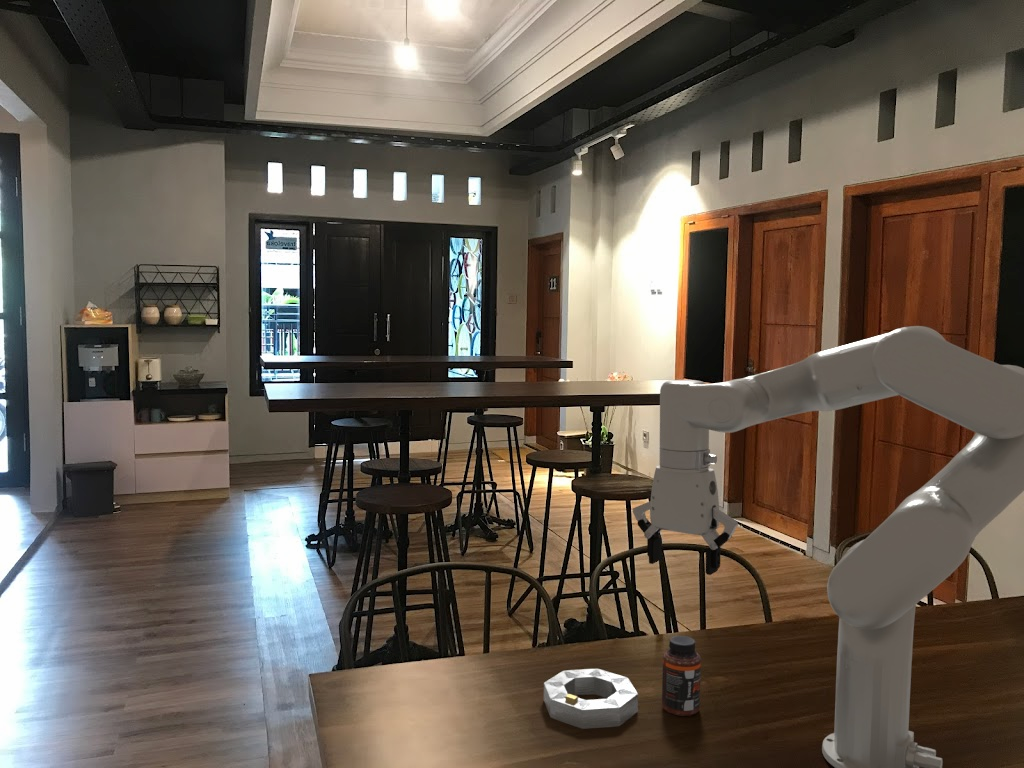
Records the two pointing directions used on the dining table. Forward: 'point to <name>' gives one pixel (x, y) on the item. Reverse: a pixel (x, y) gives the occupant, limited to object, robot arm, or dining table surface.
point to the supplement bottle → (681, 677)
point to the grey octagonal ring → (590, 711)
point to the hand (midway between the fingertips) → (682, 567)
